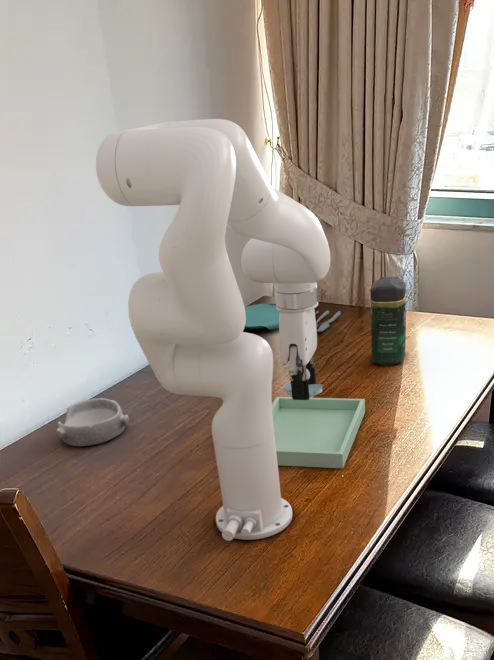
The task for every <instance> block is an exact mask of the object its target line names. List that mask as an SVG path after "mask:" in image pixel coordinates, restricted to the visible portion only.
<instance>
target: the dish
mask: <svg viewBox="0 0 494 660" xmlns="http://www.w3.org/2000/svg"><path fill="white" fill-rule="evenodd" d="M129 423H130V418H129V415H128V414H123V410H122V408H121V406H120V404H119V403H118V402H117V401H116V400H114V399H108V398H103V397H99V398H98V397H97V398H91V399H86V400H81V401H78V402H76V403H73V404H71V405H69V406H68V407H67V409H66V417H65V420H64V423H62V422H61V421H60V420H59V421H57V423H56V424H57V425H56V427H57V428H56V431H55V432H56V435H57V437H58V439H60V440H62V441H63V442H64V443H65V444H67V445H69V446H72V447H73V446H74V447H89V446H94V445H98V444H103V443H105V442H108V441H110V440H112V439H115V438H116V437H117V436H119V435H120V434H122V433H123V432H124V431H125V427H127V426H128V425H129Z"/></svg>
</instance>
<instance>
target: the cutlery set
mask: <svg viewBox="0 0 494 660" xmlns="http://www.w3.org/2000/svg"><path fill="white" fill-rule="evenodd" d="M244 307H245V312H246V324H245V327H244V330H245V329H246V330H262V329H268V330H270V331H272V330H276V329H279V314H280V311H279V310H277V309H276V303H263V302H262V303H257V304H251V305H246V306H244ZM317 314H320V311H319V310H316V311H315V315H317ZM329 314H330V310H327V309H326V311H324V312H323V313H322V314H321V315H320V316H319V317H318V318H317V320H316V330H317V333H319V332H320V333H321V332H323V331H325V330H326V329H328V328H329V327H330V324H331V323H333V322H334V321H335V320H336V319H337V318H338V317H339V316H341V315H342V311H341V310H338V311H337V312H336V313H334V315H333V316H332V317H330V319H328V320H325V322H322V323H321V325H320V326H319V322H320V321H321V320H322V319H323V318H324V317H326V316H327V315H329ZM318 326H319V327H318ZM317 328H318V329H317Z"/></svg>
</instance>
